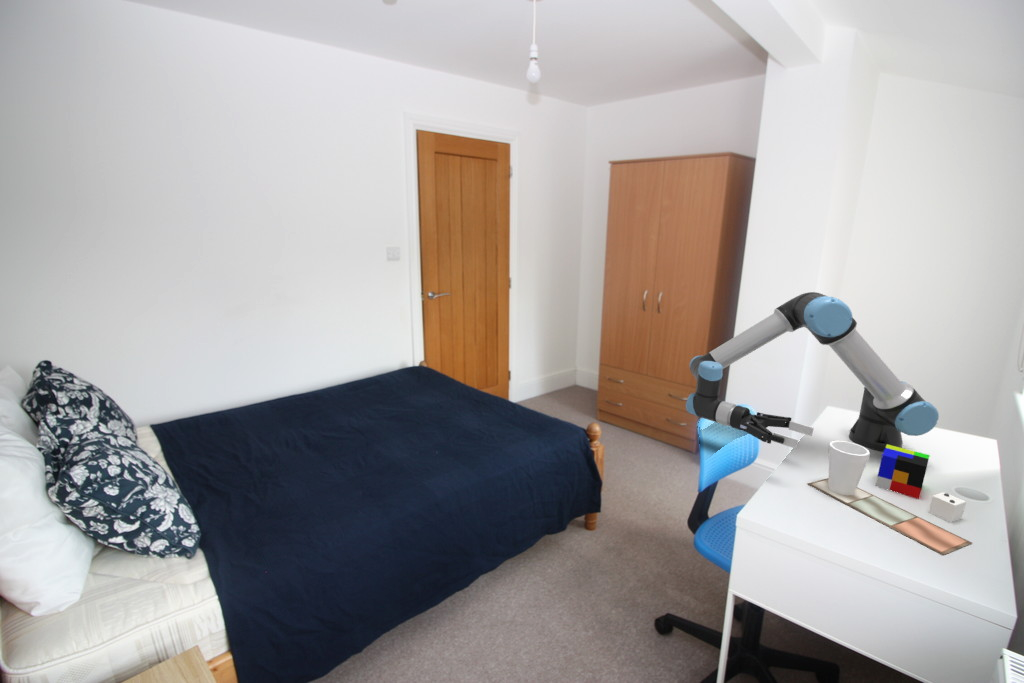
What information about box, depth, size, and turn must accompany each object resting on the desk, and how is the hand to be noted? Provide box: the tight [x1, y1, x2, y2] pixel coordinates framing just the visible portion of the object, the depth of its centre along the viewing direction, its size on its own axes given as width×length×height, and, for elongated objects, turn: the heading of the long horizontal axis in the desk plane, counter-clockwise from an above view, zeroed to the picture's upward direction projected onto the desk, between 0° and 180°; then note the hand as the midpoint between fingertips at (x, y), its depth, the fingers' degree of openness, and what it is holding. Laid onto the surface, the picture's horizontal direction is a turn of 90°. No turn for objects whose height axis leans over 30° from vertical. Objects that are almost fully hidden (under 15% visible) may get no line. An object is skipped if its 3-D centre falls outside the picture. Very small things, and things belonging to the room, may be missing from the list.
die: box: [928, 491, 967, 523], centre depth 129 cm, size 5×5×6 cm
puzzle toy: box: [875, 444, 930, 500], centre depth 143 cm, size 10×10×10 cm
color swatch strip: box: [807, 477, 973, 556], centre depth 131 cm, size 12×34×1 cm, turn 23°
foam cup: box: [827, 440, 871, 496], centre depth 139 cm, size 10×9×13 cm
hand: (805, 437), depth 146 cm, fingers open, 13 cm apart
